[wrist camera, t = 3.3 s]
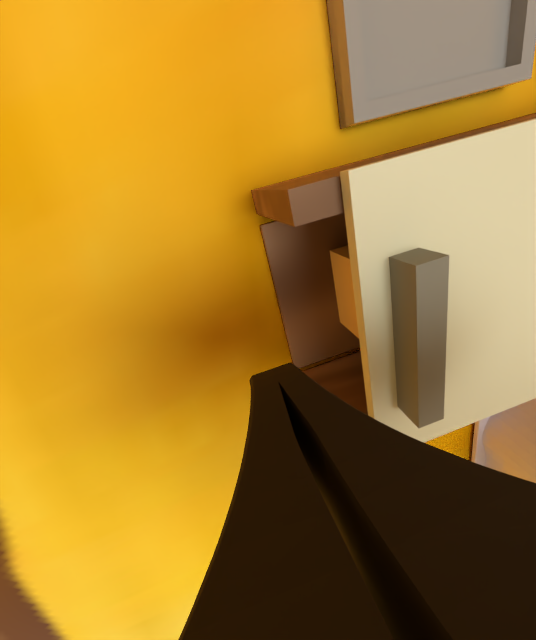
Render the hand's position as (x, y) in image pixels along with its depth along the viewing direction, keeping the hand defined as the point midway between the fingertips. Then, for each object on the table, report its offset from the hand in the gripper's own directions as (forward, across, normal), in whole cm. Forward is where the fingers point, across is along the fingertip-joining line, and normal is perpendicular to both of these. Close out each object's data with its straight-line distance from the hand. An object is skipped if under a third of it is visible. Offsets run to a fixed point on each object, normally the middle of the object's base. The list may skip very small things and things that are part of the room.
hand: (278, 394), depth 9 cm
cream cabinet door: (+1, -7, 0) cm, 7 cm away
